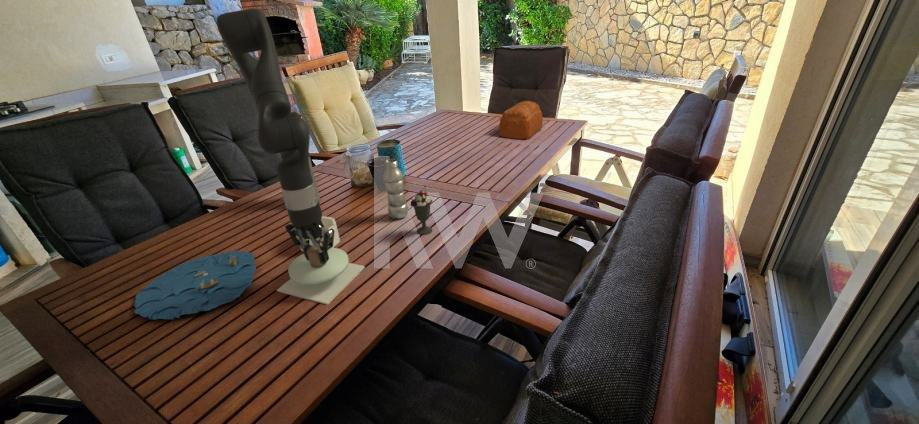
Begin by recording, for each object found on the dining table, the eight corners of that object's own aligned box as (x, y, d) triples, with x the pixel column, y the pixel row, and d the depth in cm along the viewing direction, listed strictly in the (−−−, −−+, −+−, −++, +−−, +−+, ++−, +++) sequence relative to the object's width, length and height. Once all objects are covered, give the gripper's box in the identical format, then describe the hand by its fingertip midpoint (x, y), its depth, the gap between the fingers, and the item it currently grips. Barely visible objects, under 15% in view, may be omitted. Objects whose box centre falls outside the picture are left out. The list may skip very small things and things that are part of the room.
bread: (544, 127, 219) (545, 100, 212) (528, 140, 200) (529, 111, 193) (515, 125, 226) (515, 98, 219) (497, 137, 208) (497, 108, 201)
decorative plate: (173, 344, 88) (164, 327, 85) (116, 301, 102) (106, 285, 100) (287, 273, 109) (282, 257, 107) (226, 246, 124) (220, 231, 122)
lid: (276, 278, 101) (270, 260, 98) (315, 246, 113) (311, 230, 110) (324, 289, 95) (319, 271, 93) (359, 255, 107) (356, 238, 105)
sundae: (438, 226, 127) (434, 183, 120) (430, 237, 122) (425, 192, 115) (419, 224, 129) (414, 181, 122) (410, 234, 124) (405, 190, 117)
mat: (277, 291, 102) (276, 290, 102) (318, 257, 115) (317, 256, 115) (327, 304, 96) (327, 303, 96) (364, 267, 109) (364, 266, 109)
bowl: (292, 249, 120) (287, 232, 117) (317, 230, 129) (313, 214, 126) (323, 255, 116) (318, 238, 113) (346, 236, 125) (343, 219, 122)
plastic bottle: (405, 221, 131) (397, 164, 122) (386, 220, 133) (377, 164, 123) (411, 212, 137) (404, 157, 128) (392, 211, 138) (384, 157, 129)
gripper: (267, 204, 94) (286, 263, 103) (315, 213, 89) (331, 274, 98) (290, 191, 100) (306, 248, 109) (336, 198, 95) (349, 257, 104)
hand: (317, 260), depth 103 cm, fingers closed on lid, 4 cm apart
